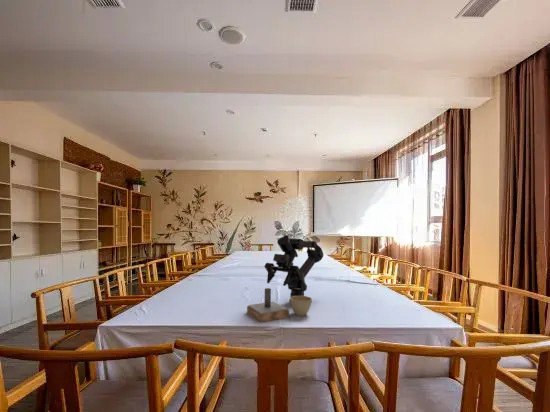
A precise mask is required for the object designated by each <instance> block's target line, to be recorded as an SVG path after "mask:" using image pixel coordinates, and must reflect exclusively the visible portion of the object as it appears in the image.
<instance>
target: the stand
mask: <svg viewBox="0 0 550 412" xmlns="http://www.w3.org/2000/svg"><path fill="white" fill-rule="evenodd" d="M246 309H247V310H246V314H248V315H249V316H251V318H252V317H253V319H255V320H257V321H260V323H263V322H264V323H265V322H269V321H274V320H275V321H276V320H281V319H286V318H290V310H289V309H288V308H287V310H284V311H278V312H272V313H266V314H260V313H258V312H257V311H255V310H253V309H252V308H250V307H249V305H247V306H246Z"/></svg>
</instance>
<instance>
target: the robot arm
mask: <svg viewBox="0 0 550 412" xmlns="http://www.w3.org/2000/svg"><path fill="white" fill-rule="evenodd" d="M276 244H277V245H278V246H279V248H280V250H281V252H282V253H283V254H279V253H275V254H274V255H273V259H272V261H273V262H272V263H271V262H266V263H265V265H264V266H263V267H264V268H265V270H266V272H267V279H266V284H270V283H271V282H272V280H273V278H274V277H275V276H276V273H277V272H283V273H287V275H286V277H285V278H284V281H283V283H282V285H283V286H284V287H285V286H287V287H288V290H290V294H289V295H290V296H289V298H290V297H292V296H305V292H306V291H307V289H308V285H307V284H306V281H305V278H306V277H307V275H308V274H309V272H310V271H311V269H312V268H313V266H314V265H315V264H316V263H319V262H320V261H321V260H322V259H323V258H324V252H323V250H322V247H320V245H318V244H317V241H315V240H303V239H302V238H289V235H286V234H285V235H283V236H282V237H279V238H278V239H277V243H276ZM304 248H306V254H307V259H306V260H305V261H304V263H302V265H301V266H300V267H299V266H298V265H294V260H295V258H298V257H299V254H298V252H297V251H300V250H303V249H304ZM274 262H276V263H275V264H276V265H275V264H274ZM289 302H290V299H289Z"/></svg>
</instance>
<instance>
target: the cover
mask: <svg viewBox="0 0 550 412" xmlns="http://www.w3.org/2000/svg"><path fill="white" fill-rule="evenodd" d="M271 291H272V289H271V287H270V288H269V287H267V288H266V287H265V288H264V302H260V303H254V304H248V306H249V307H250V308H252V309H253V310H255V311H257V312H258V313H260V314H266V313H272V312H278V311H284V310H287V309H288V308H287V307H285V306H283V305H281V304H280V303H277V302H275V301H272V296H271V295H272V293H271Z"/></svg>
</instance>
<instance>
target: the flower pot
mask: <svg viewBox="0 0 550 412" xmlns="http://www.w3.org/2000/svg"><path fill="white" fill-rule="evenodd" d="M289 300H290V301H289V302H290V306H291V309H292V311H293V313H294V315H296V316H299V317H303V316H307V314H308V312H309V311H310V308H311V306H312V297H310V296H307V295H304V296H292V297H290V296H289Z"/></svg>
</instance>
